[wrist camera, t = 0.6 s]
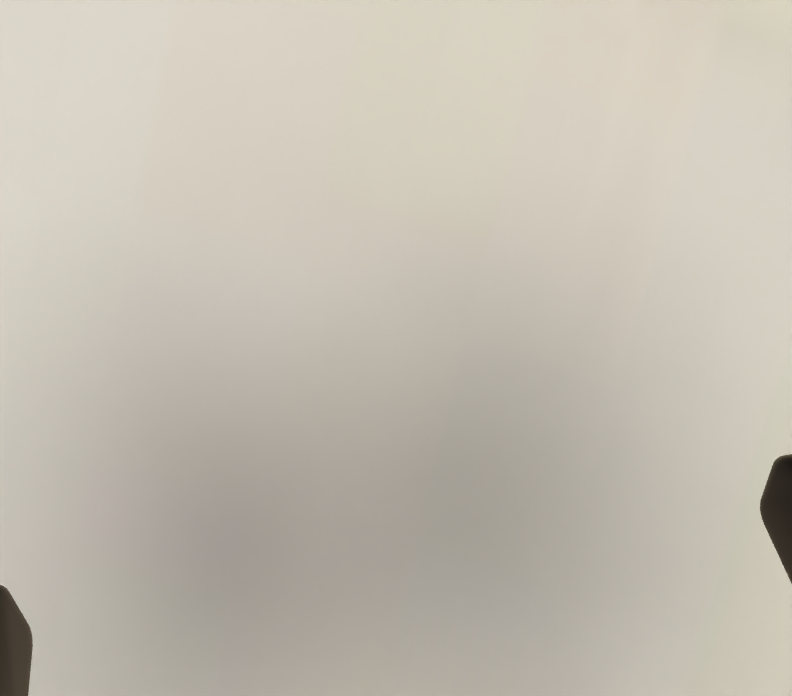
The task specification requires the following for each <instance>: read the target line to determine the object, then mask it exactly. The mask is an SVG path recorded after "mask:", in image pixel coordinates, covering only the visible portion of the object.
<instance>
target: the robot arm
mask: <svg viewBox="0 0 792 696" xmlns="http://www.w3.org/2000/svg"><path fill="white" fill-rule="evenodd" d="M760 511H761V516H762V520H763V522H764V525H765V527H766V529H767V531H768V533H769V536H770V538H771V540H772V542H773V544H774V546H775V549H776V551H777V553H778V555H779V557H780V559H781V561H782V564H783V566H784V568H785V570H786V572H787V574H788V577H789V579H790V581H791V583H792V454H790V455H784V456H781V457H779V458H778V459H776V460H775V462H774V463H773V466H772V469H771V472H770V474H769V477H768V480H767V483H766V486H765V489H764V492H763V495H762V498H761V502H760ZM32 646H33V644H32V634H31V630H30V627H29V625H28V623H27V621H26V620H25V618H24V616H23V614H22V613H21V611H20V609H19V608H18V606H17V604H16V603H15V601H14V599H13V597H12V596H11V594H10V592H9V591H8V590H7V588H5V587H4V586H2V585H0V696H28V691H29V680H30V670H31V659H32Z"/></svg>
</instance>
